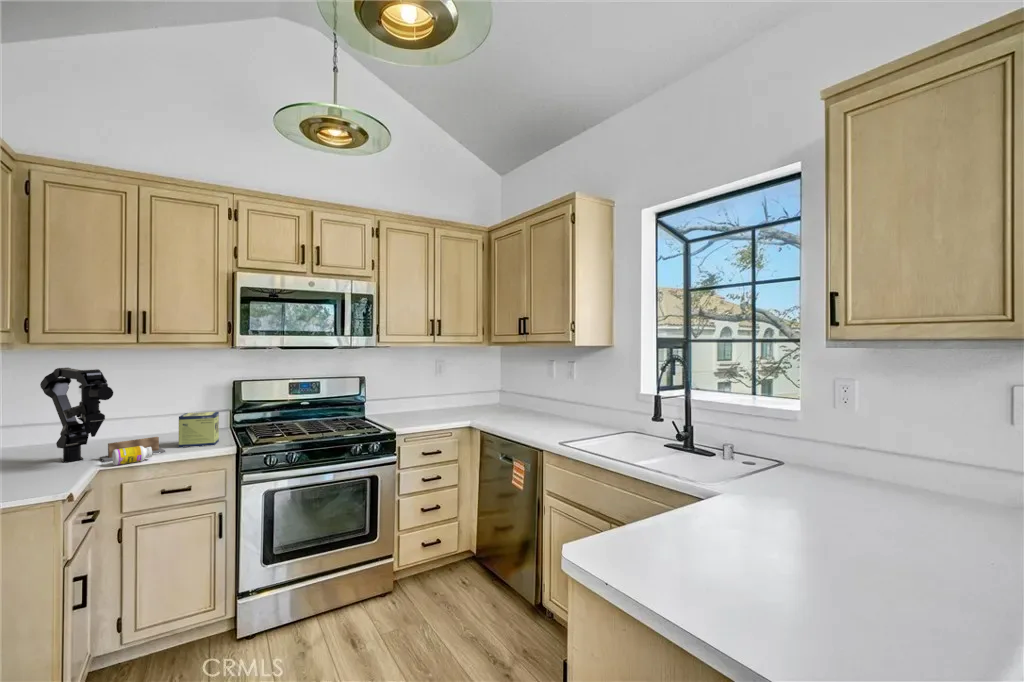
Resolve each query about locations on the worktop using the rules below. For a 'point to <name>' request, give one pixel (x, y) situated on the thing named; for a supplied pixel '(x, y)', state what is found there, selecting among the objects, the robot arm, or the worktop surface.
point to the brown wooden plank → (134, 444)
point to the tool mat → (107, 459)
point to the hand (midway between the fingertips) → (90, 435)
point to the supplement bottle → (130, 455)
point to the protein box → (198, 429)
